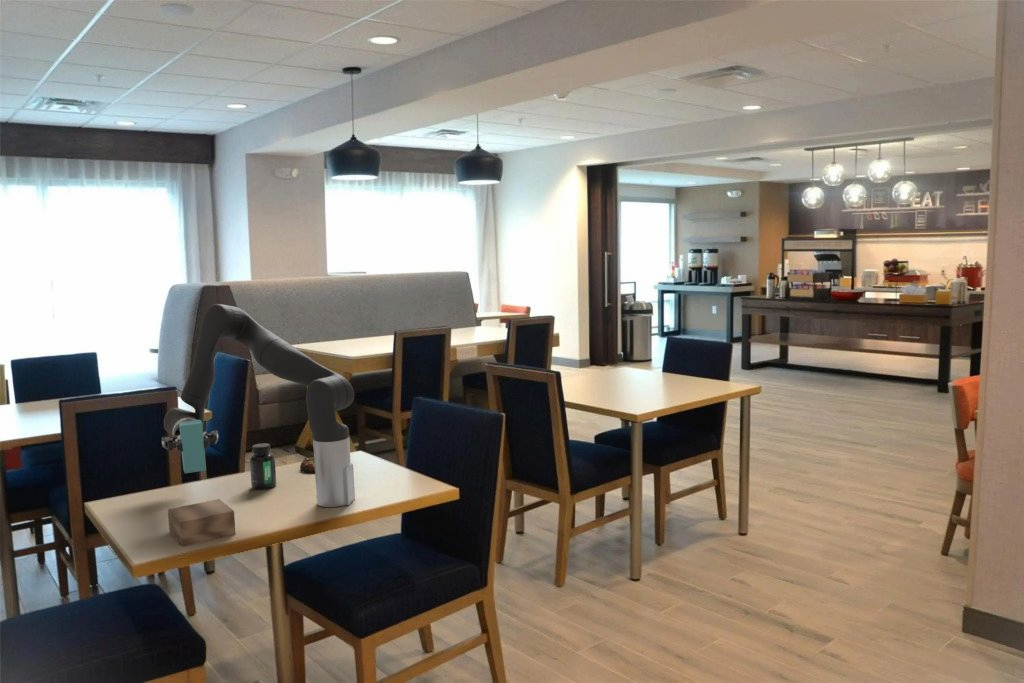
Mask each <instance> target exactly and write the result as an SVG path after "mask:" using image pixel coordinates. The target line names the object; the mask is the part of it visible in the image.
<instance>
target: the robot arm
mask: <svg viewBox="0 0 1024 683" xmlns="http://www.w3.org/2000/svg"><path fill="white" fill-rule="evenodd" d="M221 338H222V339H228V340H233V341H235V342H236V341H237V342H238V343H240V344H242V345H244V347H246V348H248V349H249V350H250V351H251V353H252V355H253V358H254V359H255V362H257V364H258V365H260V366H261V368H264V369H265V371H267V372H269V373H270V374H272V375H274V376H275V377H277V378H279V379H281V380H285V381H289V382H292V383H296V384H300V385H303V386H306V393H305V401H306V403H305V404H306V409H307V417H308V418H307V419H308V426H309V429H310V432H311V433H312V444H313V445H312V446H313V455H314V463H315V473H314V477H315V490H316V491H315V492H316V505H317V506H319V507H324V508H336V507H341V506H343V507H344V506H350V505H351V504H352V502H353V501H354V500H355V499H356V492H355V488H356V487H355V473H354V463H351V448H350V444H351V443H350V430H349V427H348V425H346V424H344V423H339V422H338V421H337V416H336V412H338V411H342V410H344V409H346V408H347V407H348V408H349V407H350V406H351V405H352V404H353V402H354V400H355V391H354V388H353V385H352V384H351V382H350V381H349V380H348V379H347V378H346V377H345V376H344V375H341V374H339V373H338V372H335V371H333V370H331V369H330V368H328V367H326V366H323V365H322V364H321V363H318V362H317V361H315V360H313V359H312V358H311V357H310V356H308V355H306V354H305V353H303V352H301V351H300V350H299V349H298V348H296V347H295V346H293V344H290V343H289V342H287V340H285V339H283V338H281V337H279V336H278V335H276V334H275V333H274V332H272V331H270V330H268V329H266V328H265V327H264V326H262V325H261V324H259V323H258V322H257V320H255V319H254V318H253V317H252V316H251V315H250V314H248V313H247V312H246V311H245V310H243V308H239V307H237V306H233V305H228V304H221V303H214V304H212V305H210V306H209V307H208V308H207V309H206V310H205V313H204V314H203V317H202V321H201V325H200V328H199V333H198V339H197V342H196V343H197V344H196V347H195V352H194V357H193V362H192V366H191V369H190V371H189V374H188V377H187V379H186V382H185V384H184V387H183V389H182V392H181V394H180V399H181V401H182V402H184V403H185V404H187V405H188V406H191V408H193V409H194V410H195V411H190V410H186V409H183V408H181V407H172V408H170V409H169V410H167V412H166V414H165V415H164V418H163V429H164V430H165V431H166V432H167V433H168V434H170V435H172V437H171V438H170V437H168V436H162V437H161V446H162V448H164V449H166V450H167V451H173V450H174V449H175V451H178V452H179V453H182V452H183V446H182V442H181V438H180V427H179V422H185V421H193V420H201V422H202V428H203V439H204V441H203V442H204V450H205V449H208V447H210V445H211V446H212V445H213V446H214V445H216V444H217V443H218V441H219V431H218V430H217V429H214V430H212V431H210V433H207V431H205V430H204V422H205V410H206V406H207V401H208V398H209V397H210V394H211V391H212V390H213V387H214V383H215V378H216V369H215V358H214V356H215V355H214V354H215V350H216V347H217V345H218V342H219V340H220V339H221Z"/></svg>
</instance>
